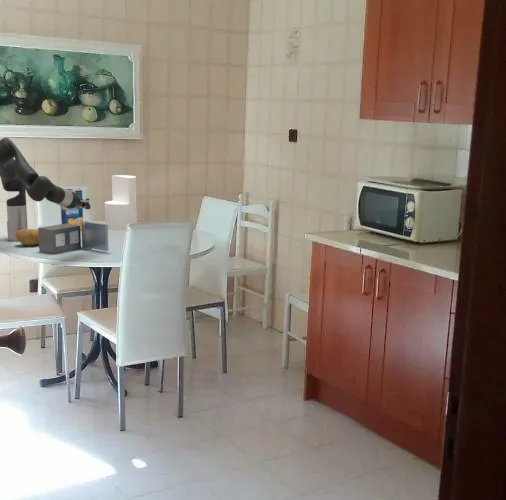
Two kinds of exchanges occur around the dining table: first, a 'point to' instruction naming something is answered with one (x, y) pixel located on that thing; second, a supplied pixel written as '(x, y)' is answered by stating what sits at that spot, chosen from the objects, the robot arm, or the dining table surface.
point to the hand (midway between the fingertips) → (88, 207)
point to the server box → (60, 238)
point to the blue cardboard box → (72, 212)
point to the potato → (28, 237)
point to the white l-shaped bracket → (121, 202)
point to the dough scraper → (94, 235)
